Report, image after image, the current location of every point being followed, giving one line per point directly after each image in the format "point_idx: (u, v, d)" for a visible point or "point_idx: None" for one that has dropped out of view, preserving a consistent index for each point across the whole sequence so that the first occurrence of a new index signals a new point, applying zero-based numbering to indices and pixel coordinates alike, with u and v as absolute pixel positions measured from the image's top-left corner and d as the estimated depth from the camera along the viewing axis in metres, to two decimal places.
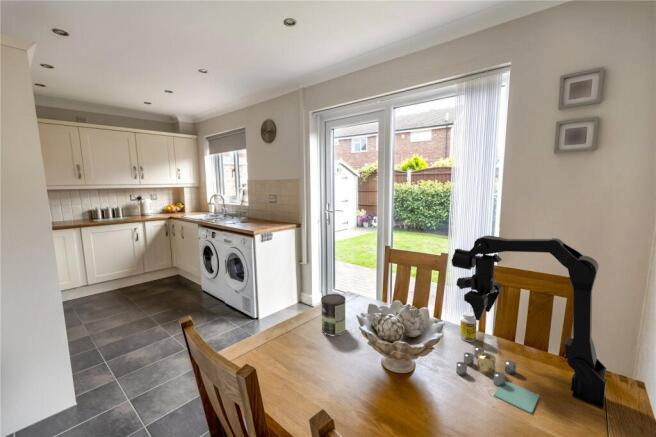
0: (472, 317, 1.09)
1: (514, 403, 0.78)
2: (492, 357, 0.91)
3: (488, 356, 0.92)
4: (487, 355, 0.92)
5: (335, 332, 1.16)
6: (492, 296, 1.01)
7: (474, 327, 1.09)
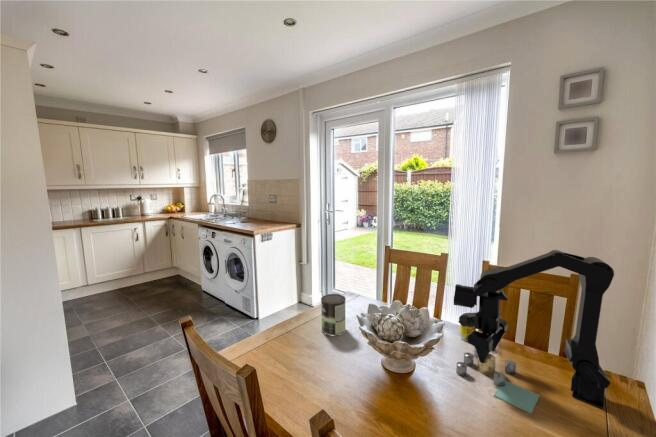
0: None
1: (514, 403, 0.78)
2: (492, 357, 0.91)
3: (488, 356, 0.92)
4: None
5: (335, 332, 1.16)
6: (497, 335, 0.94)
7: (474, 327, 1.09)
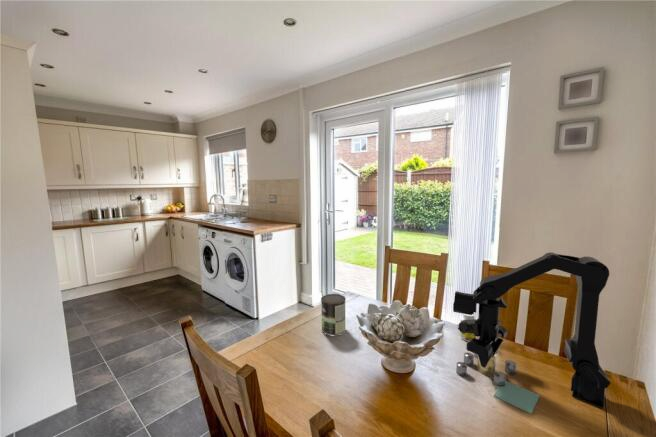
0: (472, 317, 1.09)
1: (514, 403, 0.78)
2: (492, 357, 0.91)
3: None
4: None
5: (335, 332, 1.16)
6: (495, 344, 0.93)
7: None
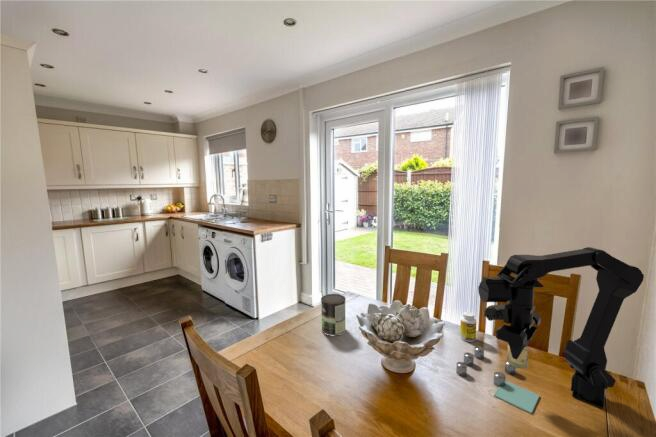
0: (472, 317, 1.09)
1: (514, 403, 0.78)
2: (524, 347, 0.79)
3: None
4: None
5: (335, 332, 1.16)
6: (527, 332, 0.80)
7: (474, 327, 1.09)
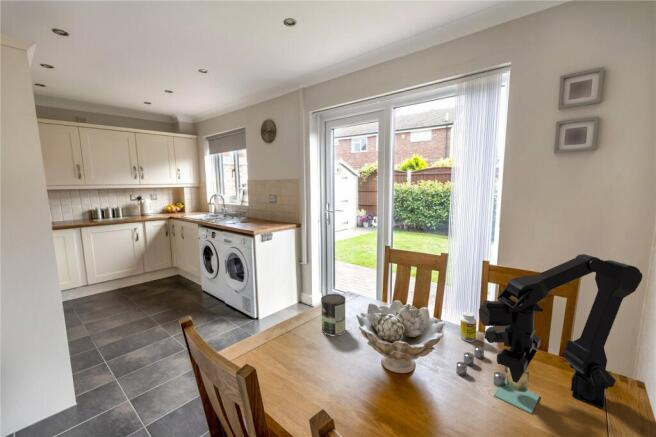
0: (472, 317, 1.09)
1: (514, 403, 0.78)
2: None
3: None
4: None
5: (335, 332, 1.16)
6: (527, 355, 0.81)
7: (474, 327, 1.09)
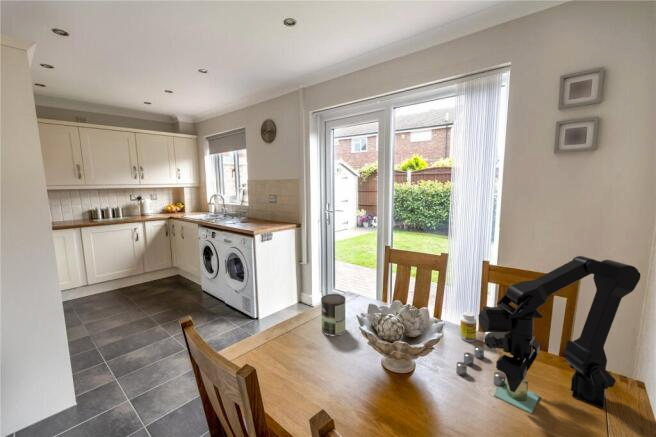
0: (472, 317, 1.09)
1: (514, 403, 0.78)
2: (524, 379, 0.80)
3: None
4: None
5: (335, 332, 1.16)
6: None
7: (474, 327, 1.09)
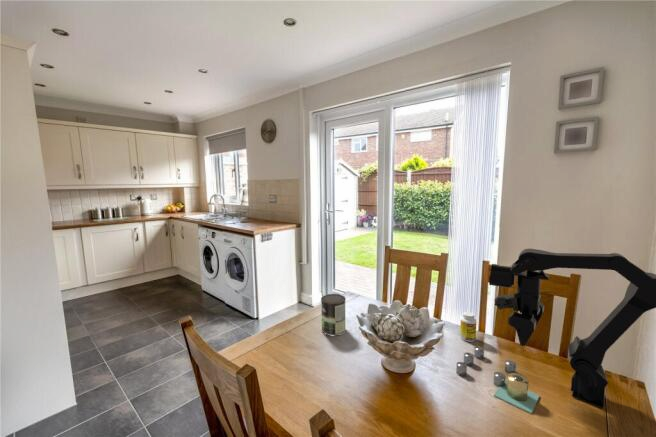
0: (472, 317, 1.09)
1: (514, 403, 0.78)
2: (524, 379, 0.80)
3: (519, 378, 0.80)
4: (518, 377, 0.81)
5: (335, 332, 1.16)
6: (535, 317, 0.90)
7: (474, 327, 1.09)
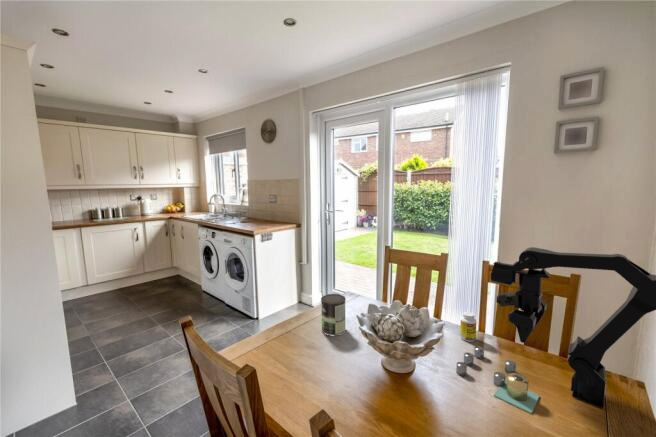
0: (472, 317, 1.09)
1: (514, 403, 0.78)
2: (524, 379, 0.80)
3: (519, 378, 0.80)
4: (518, 377, 0.81)
5: (335, 332, 1.16)
6: (537, 315, 0.91)
7: (474, 327, 1.09)
